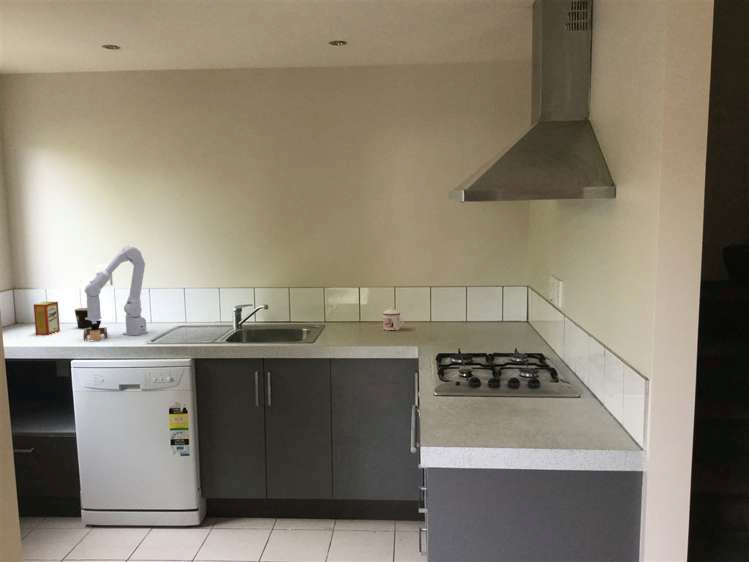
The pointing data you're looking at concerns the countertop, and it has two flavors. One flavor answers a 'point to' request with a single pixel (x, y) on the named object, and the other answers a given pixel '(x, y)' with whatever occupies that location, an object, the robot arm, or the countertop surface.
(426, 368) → the countertop surface
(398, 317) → the teacup with lid
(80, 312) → the coffee mug
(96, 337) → the terracotta block
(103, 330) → the wooden frame
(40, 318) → the baking soda box
